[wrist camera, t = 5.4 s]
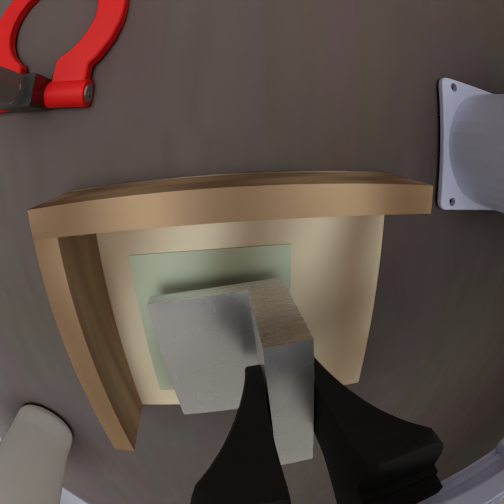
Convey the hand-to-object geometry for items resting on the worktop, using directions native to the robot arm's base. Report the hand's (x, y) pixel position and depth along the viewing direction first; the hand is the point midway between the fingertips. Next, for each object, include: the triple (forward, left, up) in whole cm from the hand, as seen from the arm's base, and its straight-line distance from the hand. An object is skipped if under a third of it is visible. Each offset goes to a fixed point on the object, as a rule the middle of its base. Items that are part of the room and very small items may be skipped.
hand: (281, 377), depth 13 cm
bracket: (+2, 0, -2) cm, 3 cm away
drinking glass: (+18, +10, -5) cm, 22 cm away
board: (+1, -1, -5) cm, 5 cm away
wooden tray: (+1, -1, -5) cm, 5 cm away
